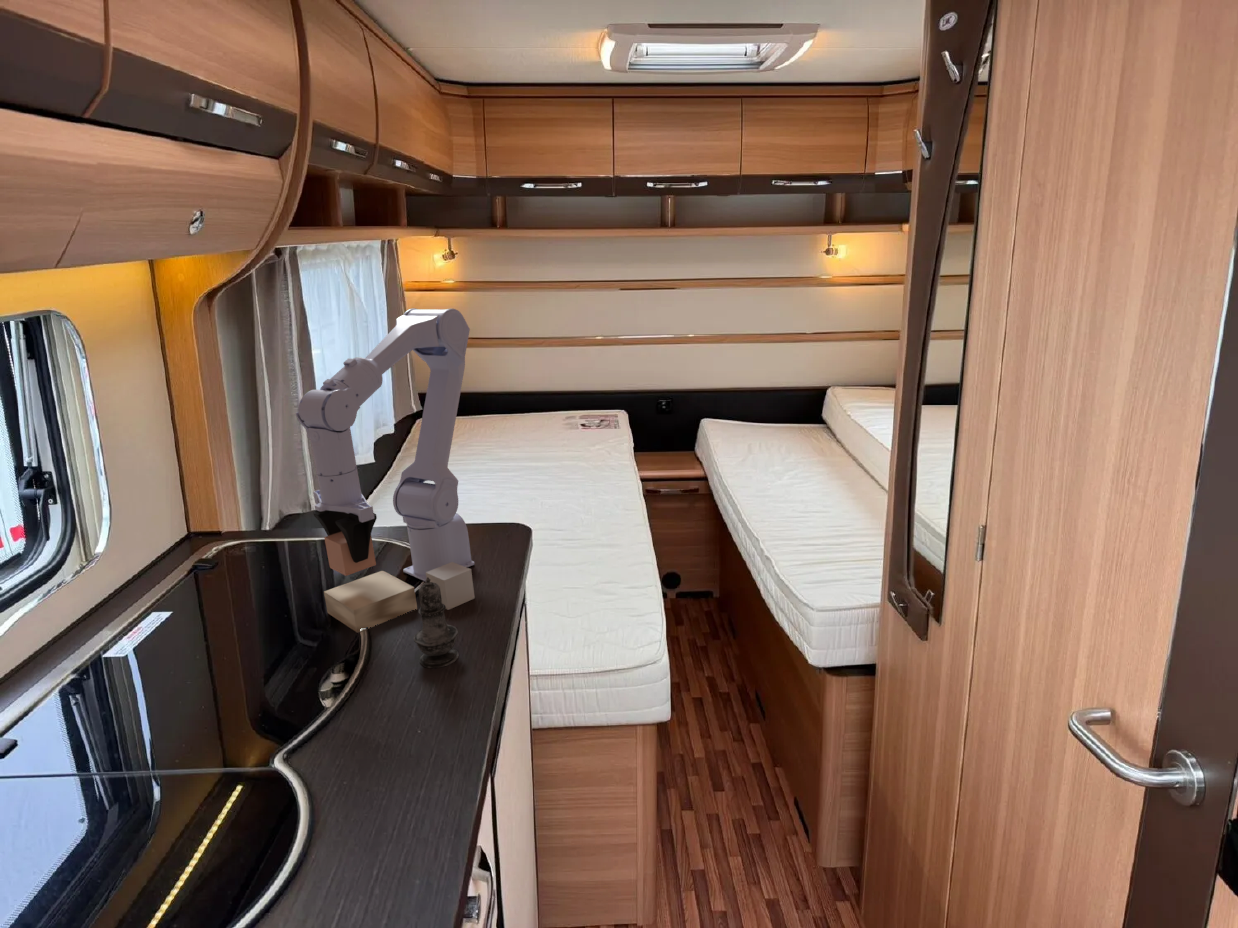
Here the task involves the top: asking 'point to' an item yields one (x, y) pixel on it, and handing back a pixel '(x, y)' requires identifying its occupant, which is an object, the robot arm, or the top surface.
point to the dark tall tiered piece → (435, 629)
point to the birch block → (370, 600)
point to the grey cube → (453, 584)
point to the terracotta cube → (345, 555)
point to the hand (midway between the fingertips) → (351, 555)
